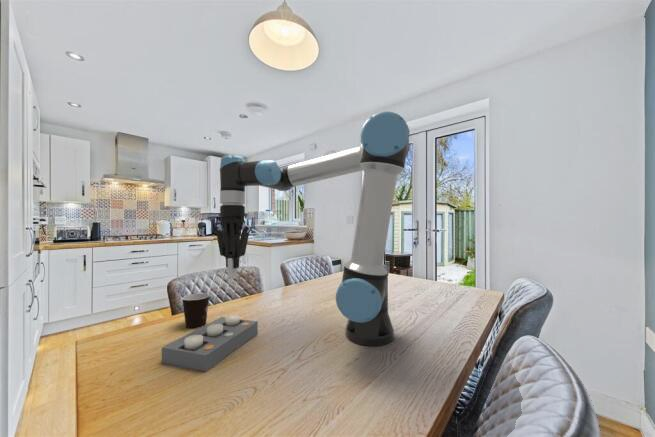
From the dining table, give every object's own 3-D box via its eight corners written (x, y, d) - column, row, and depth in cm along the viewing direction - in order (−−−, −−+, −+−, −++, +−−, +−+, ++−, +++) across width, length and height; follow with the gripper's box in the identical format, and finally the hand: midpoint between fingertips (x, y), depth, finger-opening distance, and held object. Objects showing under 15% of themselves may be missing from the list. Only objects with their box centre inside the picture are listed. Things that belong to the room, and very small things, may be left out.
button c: (206, 343, 72) (206, 335, 72) (194, 350, 68) (194, 343, 68) (193, 341, 73) (193, 333, 73) (180, 348, 69) (180, 340, 69)
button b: (226, 331, 80) (226, 324, 80) (216, 337, 75) (216, 330, 75) (214, 329, 81) (214, 323, 81) (203, 335, 77) (203, 328, 77)
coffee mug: (198, 330, 89) (198, 300, 89) (176, 328, 91) (176, 299, 91) (219, 318, 101) (219, 291, 101) (199, 316, 103) (199, 290, 103)
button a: (242, 321, 87) (242, 315, 87) (234, 326, 83) (234, 320, 83) (231, 320, 89) (231, 314, 89) (222, 325, 84) (222, 318, 84)
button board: (257, 333, 87) (257, 320, 87) (205, 371, 65) (205, 354, 65) (221, 328, 91) (221, 316, 91) (161, 362, 69) (161, 346, 69)
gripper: (257, 205, 88) (256, 277, 88) (223, 205, 92) (223, 274, 92) (243, 203, 81) (243, 282, 80) (207, 204, 85) (207, 279, 84)
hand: (232, 278), depth 86 cm, fingers closed
